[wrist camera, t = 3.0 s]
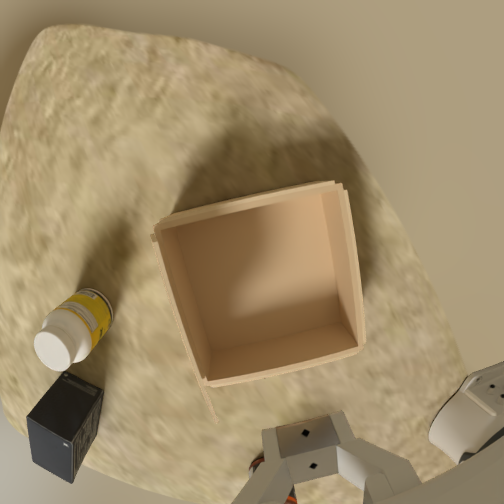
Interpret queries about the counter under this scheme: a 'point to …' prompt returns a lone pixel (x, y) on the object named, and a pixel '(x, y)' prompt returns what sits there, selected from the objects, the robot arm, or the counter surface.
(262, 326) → the carton
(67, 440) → the small box
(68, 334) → the supplement bottle
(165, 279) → the flap
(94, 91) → the counter surface
